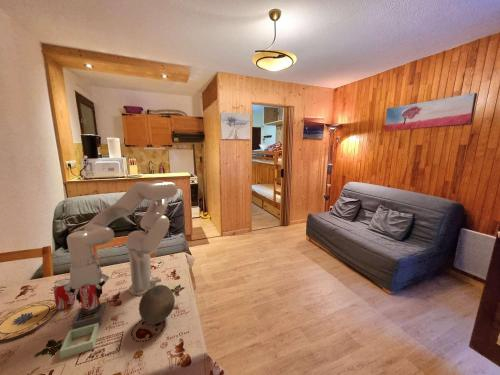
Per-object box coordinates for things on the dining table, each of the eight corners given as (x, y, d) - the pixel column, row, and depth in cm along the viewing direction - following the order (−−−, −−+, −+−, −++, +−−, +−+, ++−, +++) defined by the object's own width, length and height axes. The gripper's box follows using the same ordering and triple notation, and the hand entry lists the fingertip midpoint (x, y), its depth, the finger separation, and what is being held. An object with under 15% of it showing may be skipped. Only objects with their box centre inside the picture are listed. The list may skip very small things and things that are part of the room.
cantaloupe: (136, 337, 83) (133, 303, 80) (144, 311, 96) (141, 281, 94) (174, 329, 87) (172, 297, 84) (176, 305, 100) (175, 276, 98)
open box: (105, 307, 98) (104, 302, 97) (93, 348, 78) (92, 341, 77) (79, 314, 94) (79, 308, 93) (60, 358, 74) (59, 351, 73)
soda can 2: (102, 304, 93) (99, 280, 91) (86, 314, 88) (82, 288, 85) (95, 299, 96) (92, 275, 94) (79, 308, 91) (75, 283, 88)
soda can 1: (64, 312, 95) (61, 288, 93) (52, 309, 96) (48, 285, 94) (80, 301, 102) (76, 278, 100) (68, 299, 103) (64, 276, 101)
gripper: (109, 251, 94) (115, 287, 98) (60, 261, 87) (68, 298, 91) (106, 260, 88) (112, 297, 91) (52, 270, 80) (61, 311, 84)
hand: (90, 297), depth 91 cm, fingers closed on soda can 2, 6 cm apart
